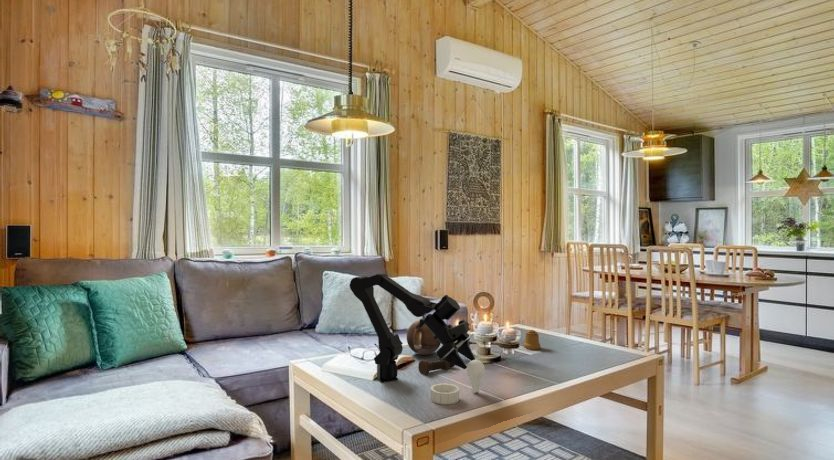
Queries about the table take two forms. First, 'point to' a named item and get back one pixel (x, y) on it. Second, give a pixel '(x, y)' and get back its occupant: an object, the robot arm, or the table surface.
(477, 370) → the lightbulb
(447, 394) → the ring
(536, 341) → the brass bell
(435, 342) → the wooden sphere
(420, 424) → the table surface
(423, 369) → the bolt
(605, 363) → the table surface
